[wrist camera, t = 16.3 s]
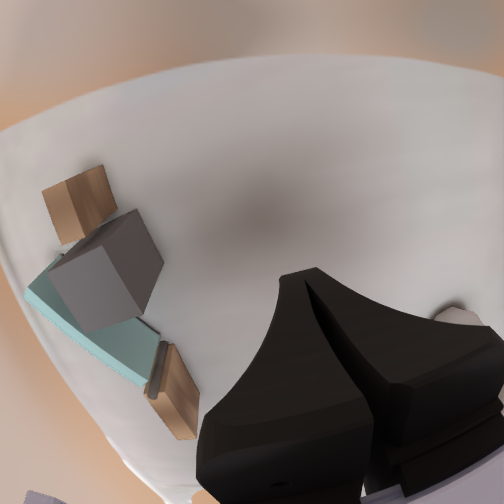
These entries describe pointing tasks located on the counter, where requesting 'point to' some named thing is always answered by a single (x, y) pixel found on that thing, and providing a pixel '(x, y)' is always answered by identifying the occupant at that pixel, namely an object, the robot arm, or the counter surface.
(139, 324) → the door
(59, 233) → the wall
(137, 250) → the block
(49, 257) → the counter surface
